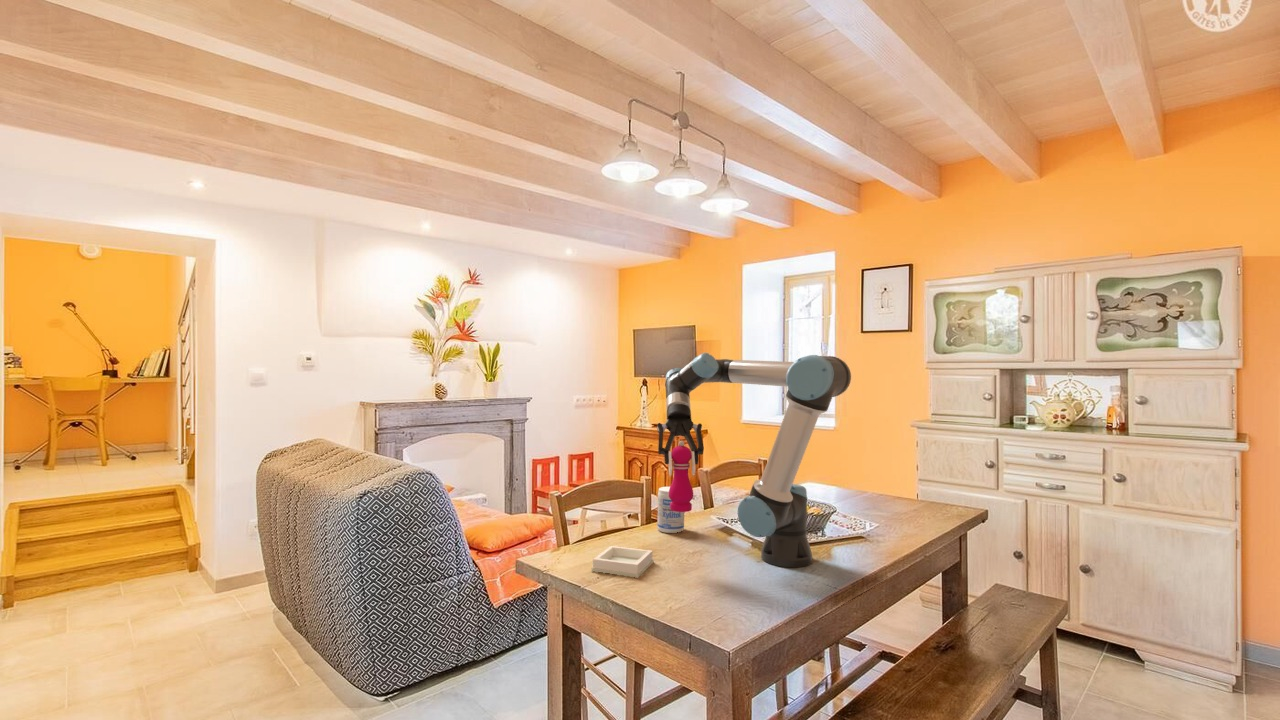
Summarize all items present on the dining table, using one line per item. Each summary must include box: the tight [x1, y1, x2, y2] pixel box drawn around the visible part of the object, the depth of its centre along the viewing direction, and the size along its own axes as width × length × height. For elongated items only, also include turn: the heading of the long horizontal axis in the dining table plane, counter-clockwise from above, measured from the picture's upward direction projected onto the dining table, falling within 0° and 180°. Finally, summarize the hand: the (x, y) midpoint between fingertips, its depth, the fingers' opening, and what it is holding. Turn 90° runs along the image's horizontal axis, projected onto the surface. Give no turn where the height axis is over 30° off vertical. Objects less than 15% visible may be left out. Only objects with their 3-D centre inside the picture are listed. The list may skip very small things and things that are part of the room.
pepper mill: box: [669, 440, 694, 513], centre depth 175 cm, size 7×7×20 cm
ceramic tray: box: [591, 545, 655, 579], centre depth 176 cm, size 14×14×4 cm
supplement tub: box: [656, 486, 685, 534], centre depth 215 cm, size 10×10×15 cm
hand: (682, 472), depth 172 cm, fingers closed on pepper mill, 6 cm apart
